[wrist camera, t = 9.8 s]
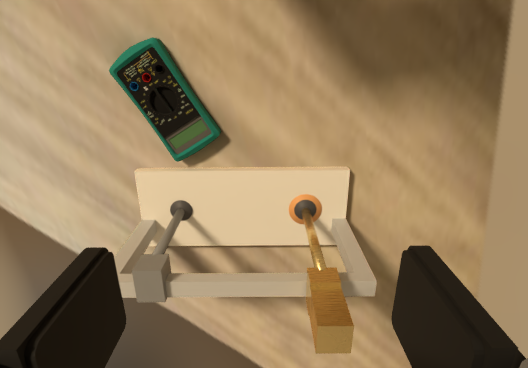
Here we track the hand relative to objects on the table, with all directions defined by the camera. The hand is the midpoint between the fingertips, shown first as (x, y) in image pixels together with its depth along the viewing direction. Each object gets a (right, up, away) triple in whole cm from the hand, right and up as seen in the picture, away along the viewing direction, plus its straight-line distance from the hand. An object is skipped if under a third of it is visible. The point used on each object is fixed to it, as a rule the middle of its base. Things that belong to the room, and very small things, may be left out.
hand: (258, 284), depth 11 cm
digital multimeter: (-12, +14, +34) cm, 39 cm away
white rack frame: (-3, 0, +39) cm, 39 cm away
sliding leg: (+6, -2, +37) cm, 38 cm away
